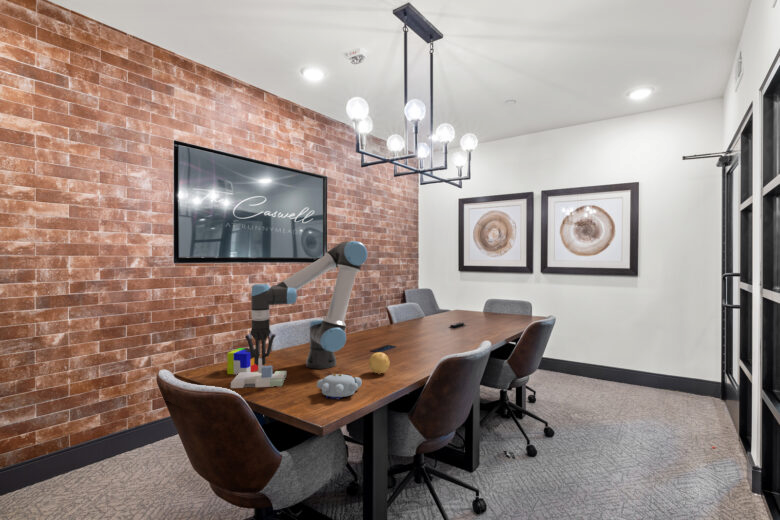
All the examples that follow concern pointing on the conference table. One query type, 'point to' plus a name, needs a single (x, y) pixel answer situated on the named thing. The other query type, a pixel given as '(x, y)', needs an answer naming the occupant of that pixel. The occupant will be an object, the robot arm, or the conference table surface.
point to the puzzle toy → (241, 361)
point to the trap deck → (258, 380)
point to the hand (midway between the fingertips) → (260, 372)
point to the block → (266, 371)
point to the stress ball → (379, 362)
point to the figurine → (339, 385)
